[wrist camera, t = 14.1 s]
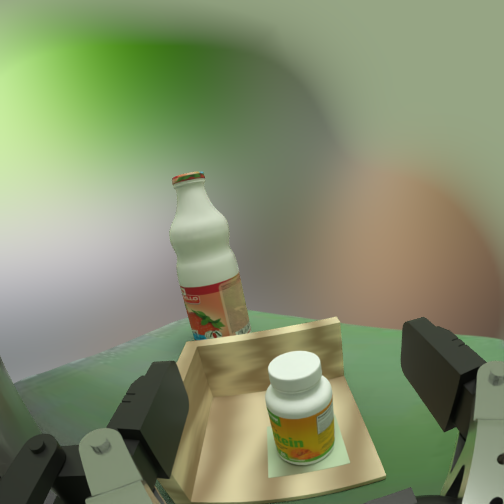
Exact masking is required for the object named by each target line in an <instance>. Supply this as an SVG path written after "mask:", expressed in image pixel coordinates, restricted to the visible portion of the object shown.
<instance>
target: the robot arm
mask: <svg viewBox="0 0 504 504" xmlns="http://www.w3.org/2000/svg"><path fill="white" fill-rule="evenodd" d="M401 367H402V371H403V373H404V375H405V377H406V378H407V379H408V381H409V382H410V384H411V385H412V386H413V388H414V389H415V391H416V392H417V393H418V395H419V396H420V398H421V399H422V401H423V402H424V403H425V405H426V406H427V408H428V409H429V411H430V412H431V414H432V415H433V417H434V418H435V419H436V421H437V422H438V424H439V425H440V427H441V428H442V430H443V431H444V432H446V431H448V430H451V429H453V428H455V427H457V429H458V430H459V432H458V434H457V437H456V442H455V447H454V451H453V455H452V459H451V463H450V467H449V471H448V474H447V478H446V481H445V484H444V486H443V488H442V491H441V493H440V495H423V496H415V495H414V493H413V491H412V488H411V487H410V488H407V489H404V490H402V491H399V492H396V493H393V494H390V495H387V496H384V497H381V498H377V499H374V500H371V501H368V502H366V503H364V504H504V362H502V361H491V362H486V361H485V360H484V359H482V358H481V357H480V356H479V355H478V354H477V353H476V352H474V351H473V350H472V349H471V348H470V347H469V346H467V345H465V343H464V342H463V341H462V340H460V339H458V337H457V336H456V335H454V334H453V333H452V332H450V331H449V330H447V329H444V328H441V327H439V326H437V327H436V326H434V325H433V324H432V323H431V322H430V321H429V320H428V319H426V318H425V317H421V318H418V319H414V320H411V321H407V322H405V323H404V325H403V329H402V347H401ZM188 412H189V398H188V394H187V392H186V389H185V386H184V383H183V381H182V378H181V375H180V372H179V369H178V366H177V364H176V362H175V361H160V362H153V363H152V364H151V366H150V368H149V370H148V371H147V373H146V375H145V376H141V377H139V378H138V379H137V380H136V381H135V382H133V383H132V384H131V386H130V388H129V389H128V391H127V393H126V395H125V396H124V398H123V399H122V403H120V405H119V406H118V408H117V410H116V412H115V413H114V415H113V417H112V419H111V420H110V422H109V424H108V426H107V427H106V428H101V429H97V430H94V431H92V432H90V433H88V434H87V435H86V436H85V437H83V439H82V440H81V442H80V444H79V445H72V446H60V445H59V443H58V442H57V440H56V439H55V438H54V437H53V436H52V435H49V434H42V432H41V431H40V429H39V428H38V426H37V424H36V423H35V421H34V419H33V418H32V416H31V415H30V413H29V411H28V410H27V408H26V406H25V404H24V403H23V401H22V399H21V397H20V395H19V394H18V392H17V390H16V388H15V386H14V384H13V382H12V380H11V378H10V376H9V374H8V372H7V370H6V368H5V366H4V364H3V362H2V359H1V357H0V476H1V477H2V478H1V480H0V504H43V503H44V501H45V499H46V497H47V495H48V493H49V491H50V489H51V490H52V491H53V492H54V493H55V494H56V495H57V496H56V499H55V501H54V503H53V504H166V503H165V501H164V499H163V498H162V496H161V495H160V493H159V491H158V490H157V488H156V487H155V482H156V479H157V478H161V479H170V477H171V473H172V469H173V466H174V462H175V458H176V455H177V451H178V447H179V444H180V440H181V437H182V433H183V430H184V426H185V422H186V419H187V415H188Z"/></svg>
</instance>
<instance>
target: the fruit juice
mask: <svg viewBox="0 0 504 504" xmlns="http://www.w3.org/2000/svg"><path fill="white" fill-rule="evenodd" d="M204 178H205V176H204V173H203V172H192V173H186V174H182V175H179V176H176V177H174V178H172V183H173V186H174V189H176V192H177V210H176V216H175V218H174V221H173V222H172V225H171V227H170V231H169V236H170V242H171V245H172V247H173V249H174V251H175V253H176V255H177V275H178V280H179V284H180V288H181V291H182V295H183V299H184V303H185V306H186V310H187V314H188V318H189V321H190V325H191V328H192V332H193V335H194V339H195V341H197V340H205V339H213V338H220V337H227V336H234V335H241V334H247V333H252V331H251V326H250V322H249V317H248V312H247V308H246V303H245V299H244V294H243V289H242V284H241V279H240V275H239V269H238V265H237V261H236V258H235V255H234V253H233V251H232V250H231V248H230V246H229V226H228V223H227V220H226V219H225V217H224V216H223V215H222V214H221V213H220V212H218V211H217V210H216V209H215V208H214V206H213V205H212V203H211V201H210V199H209V198H208V196H207V193H206V191H205V188H204V182H205V179H204Z"/></svg>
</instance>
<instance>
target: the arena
mask: <svg viewBox="0 0 504 504" xmlns="http://www.w3.org/2000/svg"><path fill="white" fill-rule="evenodd" d="M292 351H307V352H311V353H314V354H315V355H317V356H318V357H319V359H320V362H321V369H322V375H323V376H324V377H325V378H326V379H327V380H328V381H329V382H330V384H331V387H332V394H333V411H334V429H335V443H334V447H333V449H332V451H331V452H330V453H329V454H328V455H327V456H326V457H325V458H324V459H322V460H320V461H318V462H316V463H313V464H308V465H296V464H292V463H289V462H287V461H285V460H283V459H282V458H281V457H280V455H279V454H278V452H277V449H276V445H275V441H274V436H273V432H272V428H271V424H270V419H269V415H268V410H267V406H266V401H265V394H266V391H267V389H268V387H269V386H270V384H271V383H270V379H269V373H268V366H269V364H270V362H271V361H272V360H273V359H275V358H276V357H278V356H280V355H282V354H284V353H288V352H292ZM176 364H177V366H178V369H179V372H180V375H181V378H182V381H183V383H184V386H185V389H186V392H187V394H188V398H189V412H188V415H187V419H186V422H185V426H184V430H183V433H182V437H181V440H180V444H179V447H178V451H177V455H176V458H175V462H174V466H173V469H172V473H171V477H170V479H161V478H157V479H158V481H159V482H160V484H161V485H162V486H163V488H164V489H165V491H166V492H167V493H168V495H169V496H170V497H171V499H172V500H173V501H174V502H175V504H265V503H275V502H283V501H291V500H298V499H304V498H310V497H316V496H321V495H326V494H331V493H335V492H340V491H344V490H348V489H352V488H356V487H360V486H363V485H367V484H370V483H374V482H377V481H380V480H383V479H385V478H386V474H385V471H384V469H383V466H382V464H381V461H380V459H379V456H378V454H377V452H376V449H375V447H374V444H373V442H372V440H371V437H370V435H369V433H368V430H367V428H366V425H365V423H364V421H363V418H362V416H361V414H360V411H359V409H358V407H357V405H356V402H355V400H354V398H353V395H352V393H351V391H350V389H349V386H348V384H347V382H346V380H345V377H344V369H343V353H342V340H341V328H340V322H339V320H338V318H337V317H333V318H328V319H323V320H319V321H314V322H309V323H304V324H299V325H293V326H288V327H283V328H277V329H271V330H265V331H259V332H253V333H247V334H241V335H234V336H227V337H220V338H213V339H205V340H197V341H189V342H186V344H185V346H184V348H183V351H182V353H181V355H180V357H179V359H178V361H177V363H176Z"/></svg>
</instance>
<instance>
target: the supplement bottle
mask: <svg viewBox="0 0 504 504" xmlns="http://www.w3.org/2000/svg"><path fill="white" fill-rule="evenodd" d="M268 373H269V379H270V383H271V384H270V386H269V387H268V389H267V391H266V394H265V401H266V406H267V410H268V415H269V419H270V424H271V428H272V432H273V436H274V441H275V445H276V449H277V452H278V454H279V455H280V457H281V458H282V459H283V460H285V461H287V462H289V463H292V464H296V465H308V464H313V463H316V462H318V461H320V460H322V459H324V458H325V457H326V456H327V455H328V454H329V453H330V452H331V451H332V449H333V447H334V443H335V429H334V411H333V394H332V387H331V384H330V382H329V381H328V380H327V379H326V378H325V377H324V376H323V375H322V369H321V362H320V359H319V357H318V356H317V355H315V354H314V353H311V352H307V351H292V352H288V353H284V354H282V355H280V356H278V357H276V358H275V359H273V360H272V361H271V362H270V364H269V366H268Z"/></svg>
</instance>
